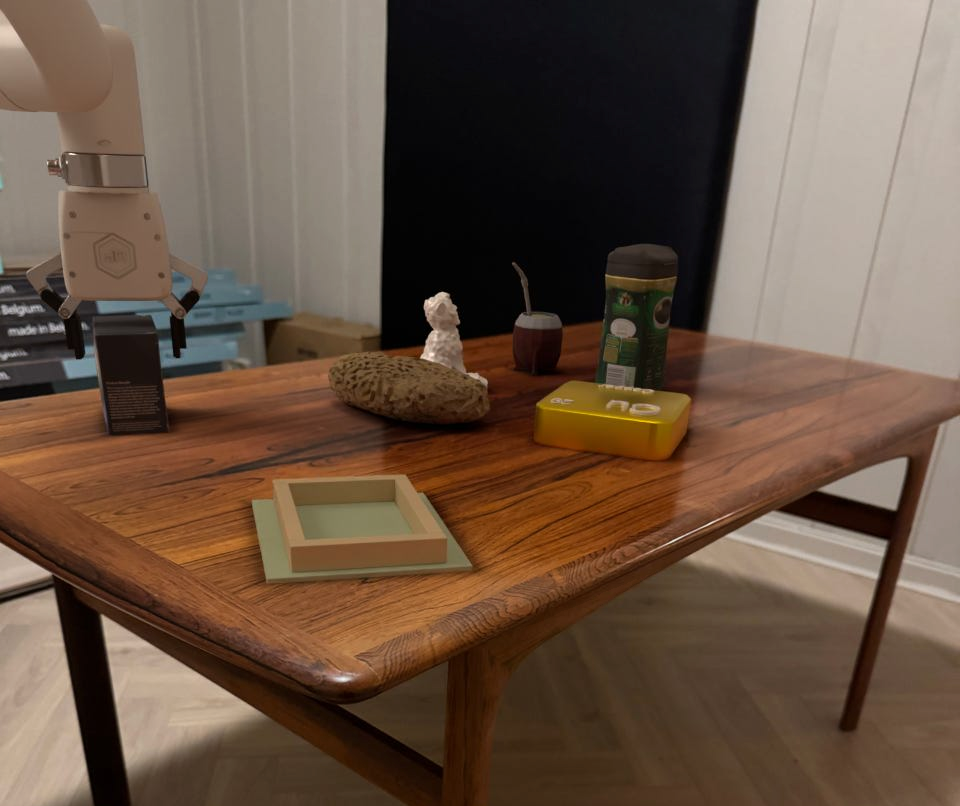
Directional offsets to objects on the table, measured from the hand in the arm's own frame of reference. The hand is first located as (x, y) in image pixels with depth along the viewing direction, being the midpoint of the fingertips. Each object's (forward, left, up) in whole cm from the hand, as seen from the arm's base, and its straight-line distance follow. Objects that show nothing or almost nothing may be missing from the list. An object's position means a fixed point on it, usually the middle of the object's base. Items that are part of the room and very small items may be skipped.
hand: (129, 356), depth 100 cm
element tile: (+51, -11, -7) cm, 53 cm away
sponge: (+30, 0, -7) cm, 31 cm away
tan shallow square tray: (+18, -37, -7) cm, 42 cm away
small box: (0, 0, -7) cm, 7 cm away
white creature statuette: (+38, +14, -7) cm, 41 cm away
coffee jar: (+62, +10, -7) cm, 63 cm away
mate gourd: (+53, +23, -7) cm, 58 cm away
